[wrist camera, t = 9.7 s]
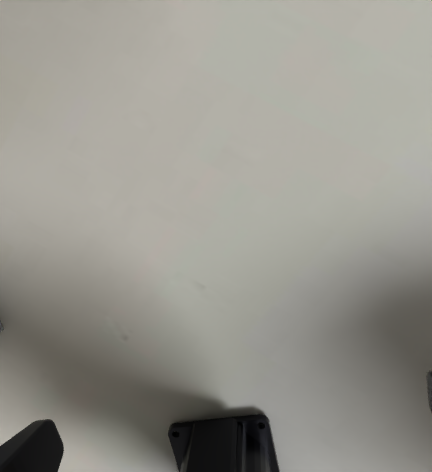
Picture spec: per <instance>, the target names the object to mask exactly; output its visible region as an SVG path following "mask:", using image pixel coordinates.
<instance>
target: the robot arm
mask: <svg viewBox="0 0 432 472" xmlns="http://www.w3.org/2000/svg"><path fill="white" fill-rule="evenodd" d="M427 387H428V398H429V405H430V409H431V412H432V370H431V371H429V372H428V373H427ZM259 423H264V424H259ZM174 431H177V432H178V433H177V432H174ZM168 436H169V439H170V442H171V445H172V449H173V452H174V455H175V459H176V462H177V465H178V468H179V472H280V470H279V466H278V461H277V456H276V451H275V446H274V442H273V437H272V432H271V427H270V423H269V419H268V417H266V416H265V415H260V414H259V415H250V416H240V417H230V418H221V419H211V420H201V421H192V422H182V423H174V424H172V425H171V426H170V428H169V432H168ZM63 451H64V447H63V442H62V440H61V438H60V435H59V433H58V430H57V428H56V426H55V423H54V422H53V421H52V420H50V419H45V420H38V421H35V422H33V423H31V424H30V425H29V426H27V427H26V428H25V429H23V430H22V431H20V432H19V433H18V434H16V435H15V436H14V437H12V438H11V439H9V440H8V441H7V442H5V443H4V444H3V445H1V446H0V472H58V469H59V466H60V463H61V459H62V456H63Z"/></svg>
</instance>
